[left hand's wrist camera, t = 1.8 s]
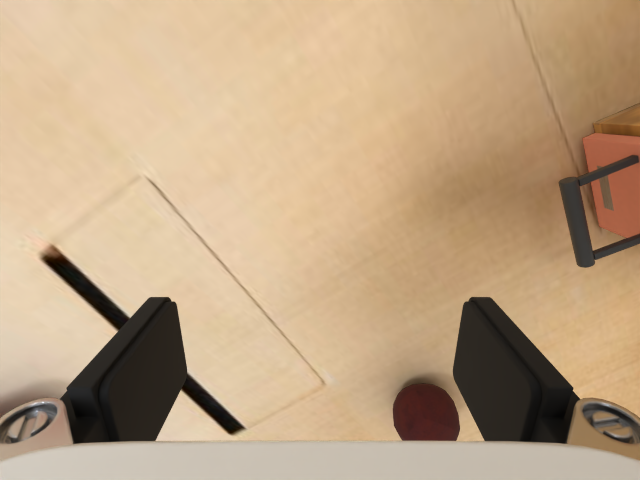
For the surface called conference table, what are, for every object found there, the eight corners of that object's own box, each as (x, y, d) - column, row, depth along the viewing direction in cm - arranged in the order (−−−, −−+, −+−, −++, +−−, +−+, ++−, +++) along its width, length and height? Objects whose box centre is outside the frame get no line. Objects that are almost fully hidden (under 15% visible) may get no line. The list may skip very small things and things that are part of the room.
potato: (426, 424, 46) (444, 477, 39) (376, 402, 45) (385, 453, 38) (460, 385, 44) (485, 434, 37) (408, 361, 43) (424, 407, 36)
